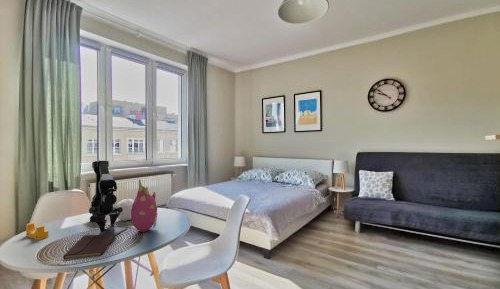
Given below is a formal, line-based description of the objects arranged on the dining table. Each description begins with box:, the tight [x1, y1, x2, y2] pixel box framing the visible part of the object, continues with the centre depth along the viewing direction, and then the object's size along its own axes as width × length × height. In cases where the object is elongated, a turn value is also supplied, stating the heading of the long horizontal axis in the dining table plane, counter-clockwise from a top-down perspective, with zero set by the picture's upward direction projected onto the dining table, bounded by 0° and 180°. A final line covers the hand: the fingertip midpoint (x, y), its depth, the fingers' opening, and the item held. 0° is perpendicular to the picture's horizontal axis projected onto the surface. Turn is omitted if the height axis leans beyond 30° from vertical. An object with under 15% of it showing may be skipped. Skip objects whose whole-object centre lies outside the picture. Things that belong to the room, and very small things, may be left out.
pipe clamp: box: [25, 222, 49, 241], centre depth 125 cm, size 12×4×6 cm, turn 66°
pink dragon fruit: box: [130, 179, 158, 233], centre depth 133 cm, size 18×14×30 cm
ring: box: [100, 224, 115, 234], centre depth 130 cm, size 7×7×3 cm
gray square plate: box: [89, 226, 128, 237], centre depth 130 cm, size 14×14×4 cm
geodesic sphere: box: [115, 198, 135, 222], centre depth 153 cm, size 15×14×14 cm
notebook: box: [62, 234, 117, 260], centre depth 113 cm, size 15×20×2 cm
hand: (107, 229), depth 130 cm, fingers open, 7 cm apart
